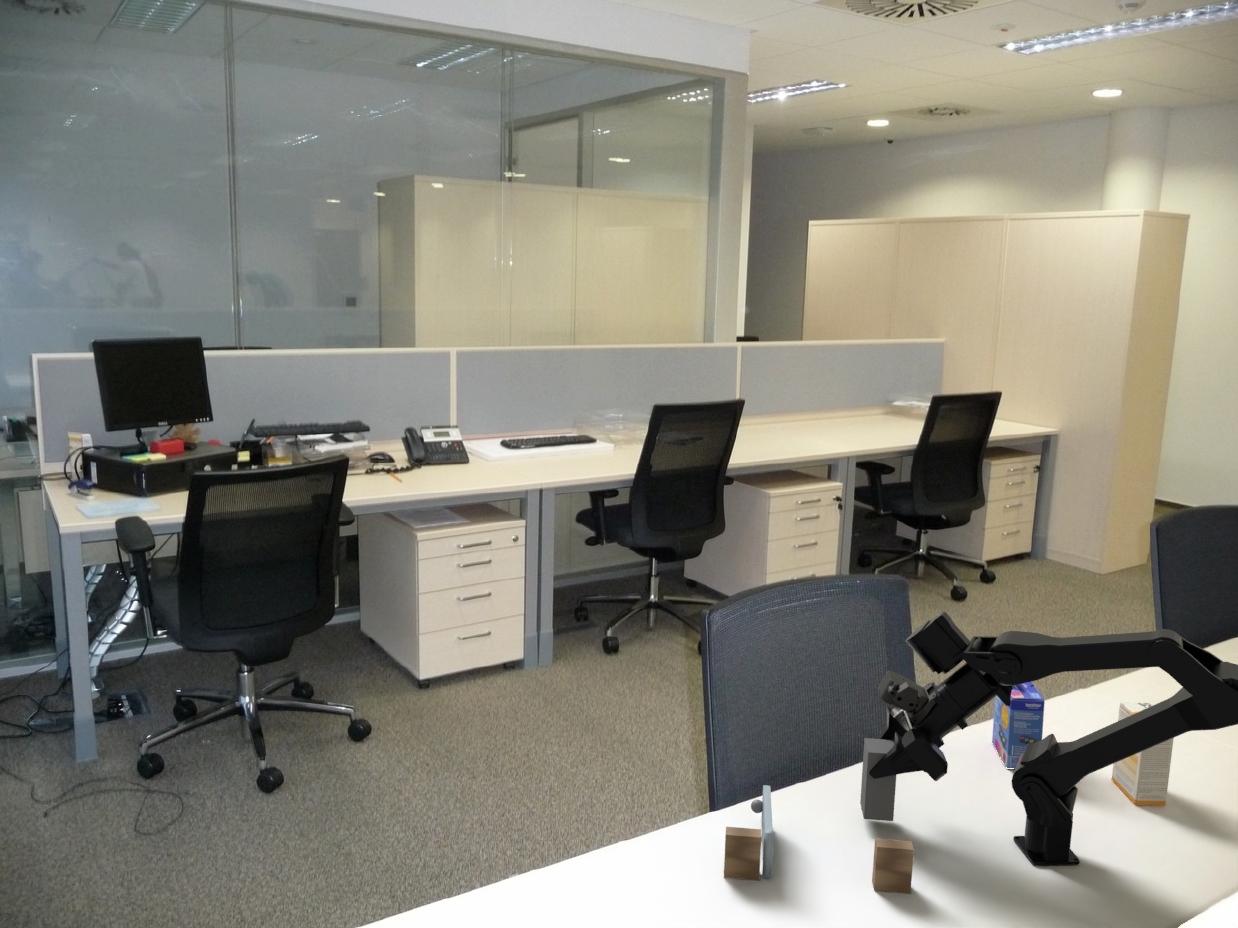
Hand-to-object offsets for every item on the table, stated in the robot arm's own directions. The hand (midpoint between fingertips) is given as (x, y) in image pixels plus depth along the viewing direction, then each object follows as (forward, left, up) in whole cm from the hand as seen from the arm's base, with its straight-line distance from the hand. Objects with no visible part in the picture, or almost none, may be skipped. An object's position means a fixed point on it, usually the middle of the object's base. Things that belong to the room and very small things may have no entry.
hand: (869, 767), depth 146 cm
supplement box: (+8, -44, -9) cm, 46 cm away
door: (-7, +16, -8) cm, 20 cm away
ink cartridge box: (+20, -30, -9) cm, 37 cm away
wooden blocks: (-14, +10, -8) cm, 19 cm away
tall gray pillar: (0, -1, -7) cm, 7 cm away
